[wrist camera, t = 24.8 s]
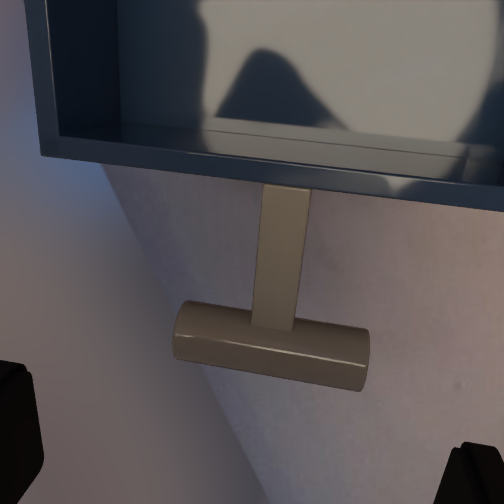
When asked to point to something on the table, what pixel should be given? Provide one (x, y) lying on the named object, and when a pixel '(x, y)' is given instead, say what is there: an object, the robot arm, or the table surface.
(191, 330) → the blue open box
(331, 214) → the table surface
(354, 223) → the table surface
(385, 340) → the table surface
